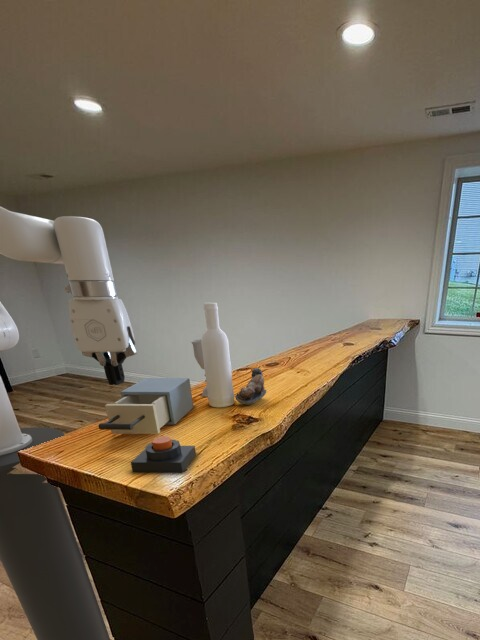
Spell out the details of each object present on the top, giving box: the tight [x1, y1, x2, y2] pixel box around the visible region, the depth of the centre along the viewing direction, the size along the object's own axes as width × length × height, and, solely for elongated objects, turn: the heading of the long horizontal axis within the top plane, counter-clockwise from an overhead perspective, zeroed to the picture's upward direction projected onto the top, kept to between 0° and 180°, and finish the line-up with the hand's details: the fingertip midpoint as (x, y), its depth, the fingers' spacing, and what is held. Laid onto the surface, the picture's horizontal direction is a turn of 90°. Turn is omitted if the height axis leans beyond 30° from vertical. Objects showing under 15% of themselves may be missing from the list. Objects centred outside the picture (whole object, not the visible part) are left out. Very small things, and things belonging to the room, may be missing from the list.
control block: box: [130, 439, 197, 473], centre depth 72 cm, size 10×8×4 cm
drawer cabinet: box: [120, 377, 194, 426], centre depth 98 cm, size 15×13×9 cm
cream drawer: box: [98, 395, 171, 435], centre depth 86 cm, size 21×11×7 cm, turn 0°
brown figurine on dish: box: [234, 367, 267, 406], centre depth 110 cm, size 12×7×10 cm, turn 160°
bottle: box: [201, 302, 235, 408], centre depth 104 cm, size 8×8×30 cm
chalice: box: [190, 339, 208, 398], centre depth 116 cm, size 7×7×18 cm
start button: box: [151, 435, 172, 450], centre depth 71 cm, size 4×4×2 cm
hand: (117, 383), depth 75 cm, fingers closed
